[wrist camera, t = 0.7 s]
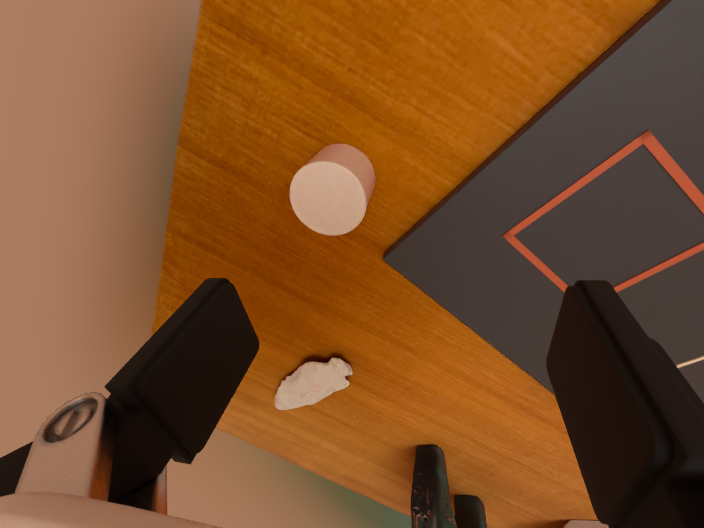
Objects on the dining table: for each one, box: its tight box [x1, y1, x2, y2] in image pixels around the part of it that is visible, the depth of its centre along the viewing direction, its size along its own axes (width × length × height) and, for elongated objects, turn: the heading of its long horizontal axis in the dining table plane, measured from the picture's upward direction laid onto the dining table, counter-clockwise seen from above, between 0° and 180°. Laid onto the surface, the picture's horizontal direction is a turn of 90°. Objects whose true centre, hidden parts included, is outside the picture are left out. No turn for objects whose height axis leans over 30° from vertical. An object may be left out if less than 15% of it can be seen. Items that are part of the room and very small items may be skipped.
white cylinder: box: [290, 144, 376, 236], centre depth 21 cm, size 5×5×4 cm
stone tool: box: [275, 358, 353, 410], centre depth 38 cm, size 6×2×15 cm
